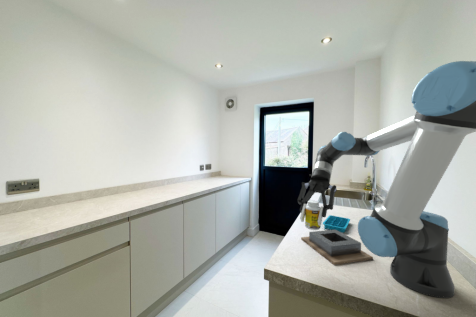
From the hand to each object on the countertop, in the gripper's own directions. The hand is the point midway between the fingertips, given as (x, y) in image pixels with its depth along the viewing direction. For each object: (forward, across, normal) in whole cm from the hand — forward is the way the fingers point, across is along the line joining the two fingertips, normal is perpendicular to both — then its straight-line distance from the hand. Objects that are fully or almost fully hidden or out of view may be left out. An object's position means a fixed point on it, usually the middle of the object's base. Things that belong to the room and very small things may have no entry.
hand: (310, 221), depth 70 cm
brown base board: (-3, -5, -26) cm, 26 cm away
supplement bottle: (0, 0, -5) cm, 5 cm away
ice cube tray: (-25, -2, -48) cm, 54 cm away
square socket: (-3, -5, -26) cm, 26 cm away
